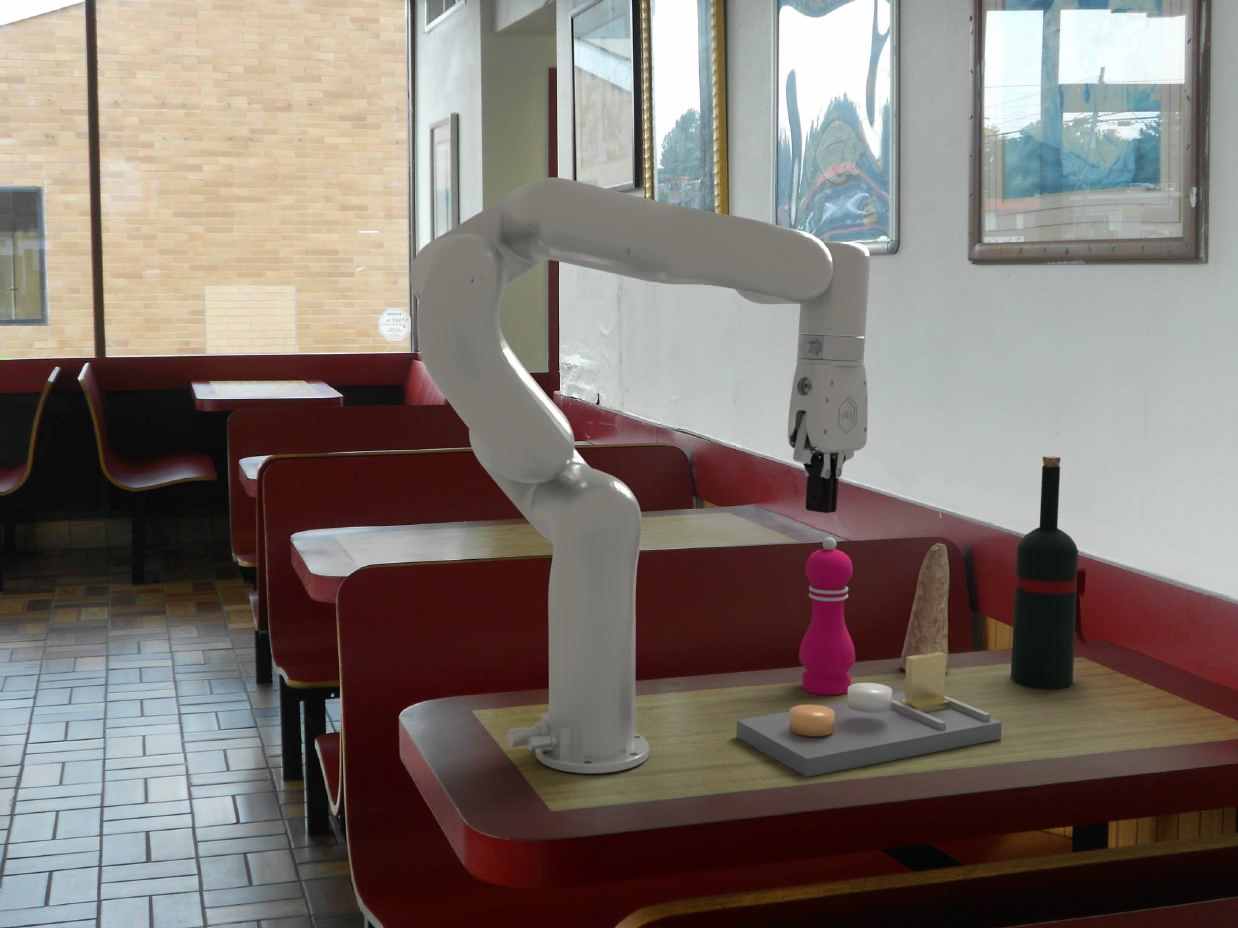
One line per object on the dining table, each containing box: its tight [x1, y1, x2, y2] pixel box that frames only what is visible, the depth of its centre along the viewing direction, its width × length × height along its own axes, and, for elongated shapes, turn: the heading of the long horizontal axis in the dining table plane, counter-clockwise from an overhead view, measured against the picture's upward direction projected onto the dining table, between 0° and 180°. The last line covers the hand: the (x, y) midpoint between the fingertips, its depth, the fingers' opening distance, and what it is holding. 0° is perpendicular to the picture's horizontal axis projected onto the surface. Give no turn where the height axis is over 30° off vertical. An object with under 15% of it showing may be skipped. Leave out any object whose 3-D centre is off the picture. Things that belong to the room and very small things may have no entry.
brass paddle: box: [900, 652, 950, 713], centre depth 150 cm, size 5×3×6 cm, turn 116°
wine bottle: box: [1010, 455, 1088, 690], centre depth 167 cm, size 8×10×30 cm
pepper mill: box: [798, 536, 856, 696], centre depth 164 cm, size 7×7×20 cm
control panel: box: [736, 691, 1003, 778], centre depth 145 cm, size 27×14×3 cm, turn 116°
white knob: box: [846, 682, 893, 713], centre depth 145 cm, size 5×5×2 cm
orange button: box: [788, 704, 835, 736], centre depth 142 cm, size 5×5×2 cm
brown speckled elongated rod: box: [900, 542, 950, 672], centre depth 172 cm, size 6×18×6 cm
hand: (820, 510), depth 146 cm, fingers closed
